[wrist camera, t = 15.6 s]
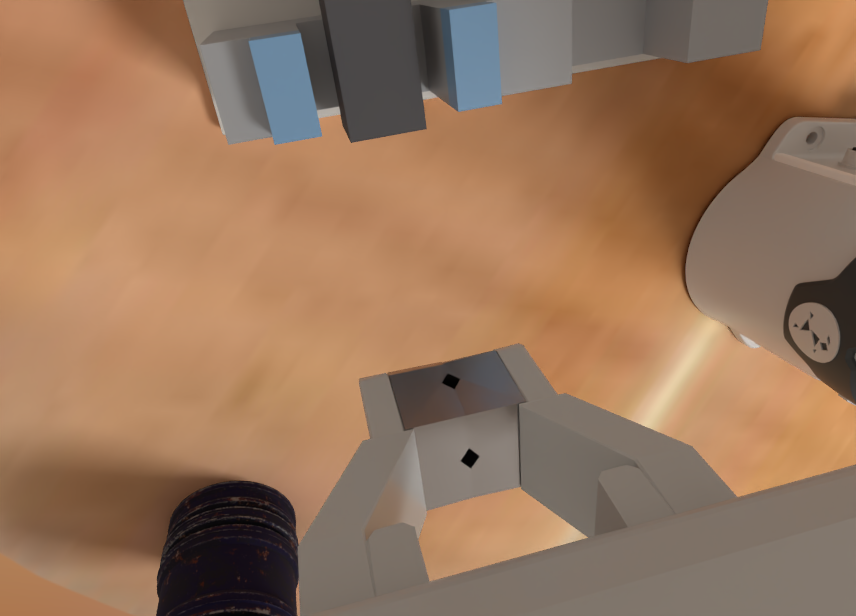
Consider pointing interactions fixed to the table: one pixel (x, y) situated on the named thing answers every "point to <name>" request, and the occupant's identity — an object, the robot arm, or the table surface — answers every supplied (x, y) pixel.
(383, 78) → the dark square rod
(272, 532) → the black ribbed barrel
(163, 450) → the table surface
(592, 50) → the grey slotted fixture rack
